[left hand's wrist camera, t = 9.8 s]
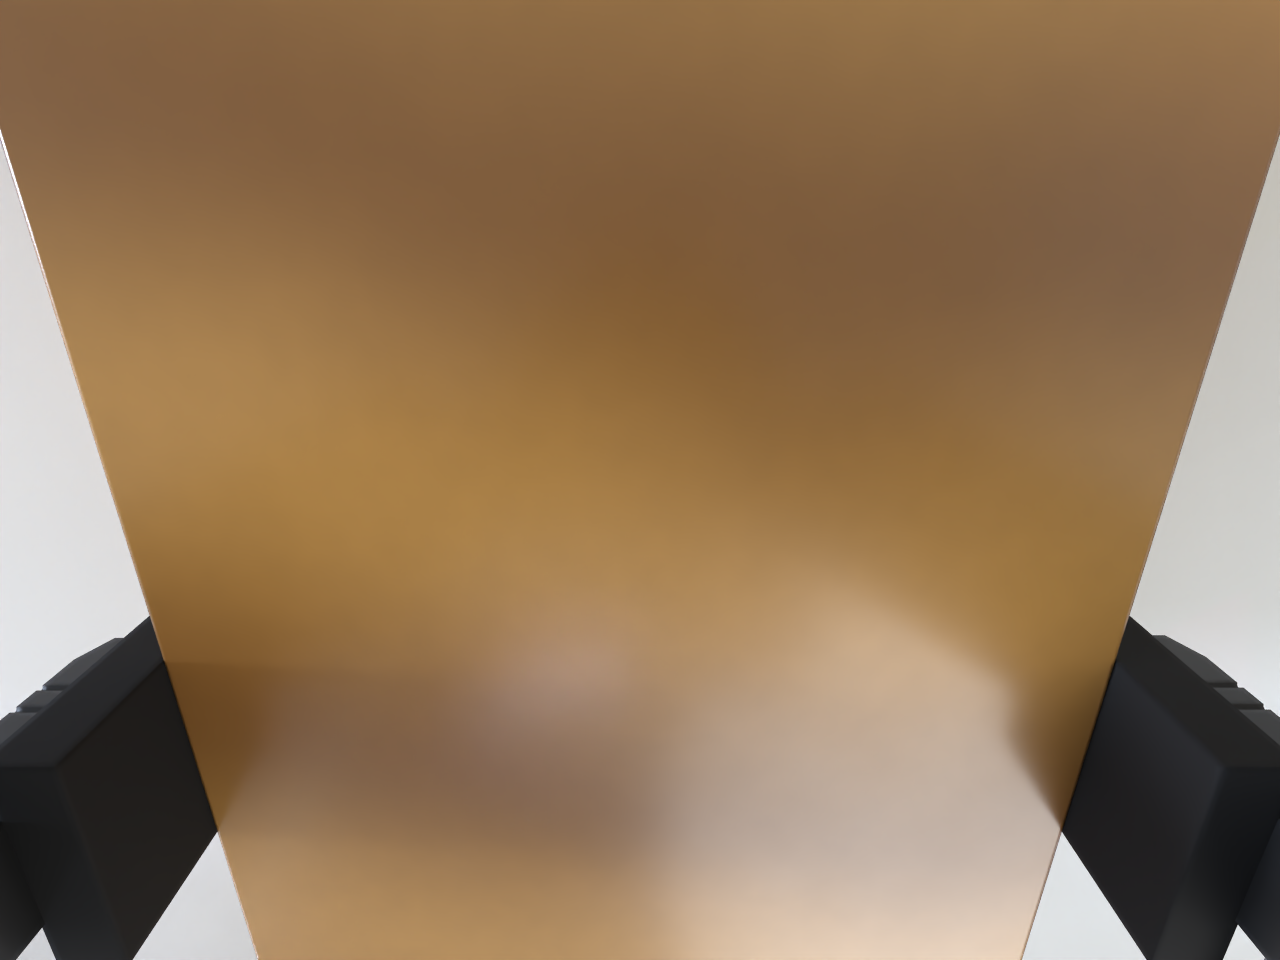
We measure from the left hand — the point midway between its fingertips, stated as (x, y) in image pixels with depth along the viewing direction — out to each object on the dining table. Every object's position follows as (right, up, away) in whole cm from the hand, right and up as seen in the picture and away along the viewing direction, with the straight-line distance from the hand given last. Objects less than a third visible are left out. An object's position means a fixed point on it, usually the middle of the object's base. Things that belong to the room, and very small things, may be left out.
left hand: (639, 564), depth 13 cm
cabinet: (0, +8, +2) cm, 8 cm away
